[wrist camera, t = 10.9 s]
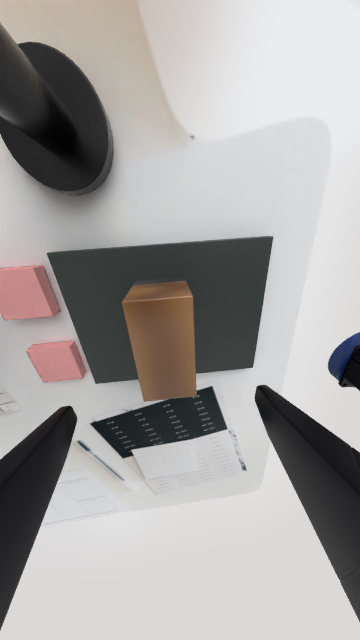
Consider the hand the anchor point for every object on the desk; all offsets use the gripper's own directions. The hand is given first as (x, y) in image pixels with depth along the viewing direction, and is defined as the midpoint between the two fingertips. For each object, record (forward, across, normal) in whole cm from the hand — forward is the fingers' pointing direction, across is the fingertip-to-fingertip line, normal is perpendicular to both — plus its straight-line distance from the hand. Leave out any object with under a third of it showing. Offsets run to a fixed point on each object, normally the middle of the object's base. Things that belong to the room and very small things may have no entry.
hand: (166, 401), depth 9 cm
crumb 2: (+10, +11, +4) cm, 15 cm away
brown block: (+8, 0, 0) cm, 8 cm away
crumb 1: (+9, +11, -4) cm, 15 cm away
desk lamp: (+9, +5, -13) cm, 17 cm away
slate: (+9, 0, 0) cm, 9 cm away
